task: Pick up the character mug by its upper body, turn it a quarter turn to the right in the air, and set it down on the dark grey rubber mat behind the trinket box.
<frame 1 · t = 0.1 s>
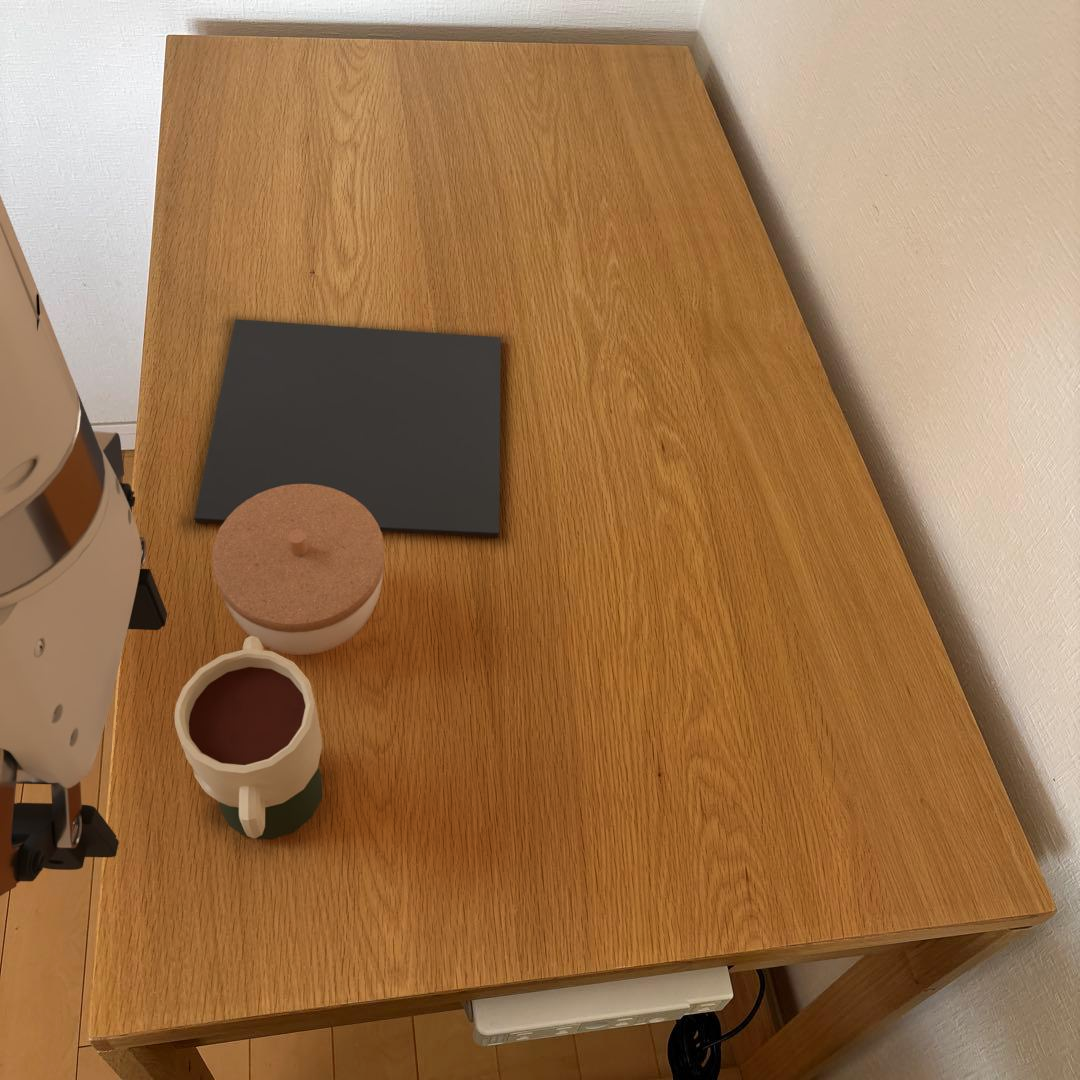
hand: (104, 728, 41), 23 cm above the table, tool pointing down, fingers open, 9 cm apart
mat: (360, 425, 81), on the table
trinket box: (308, 611, 71), on the table
character mug: (272, 795, 64), on the table
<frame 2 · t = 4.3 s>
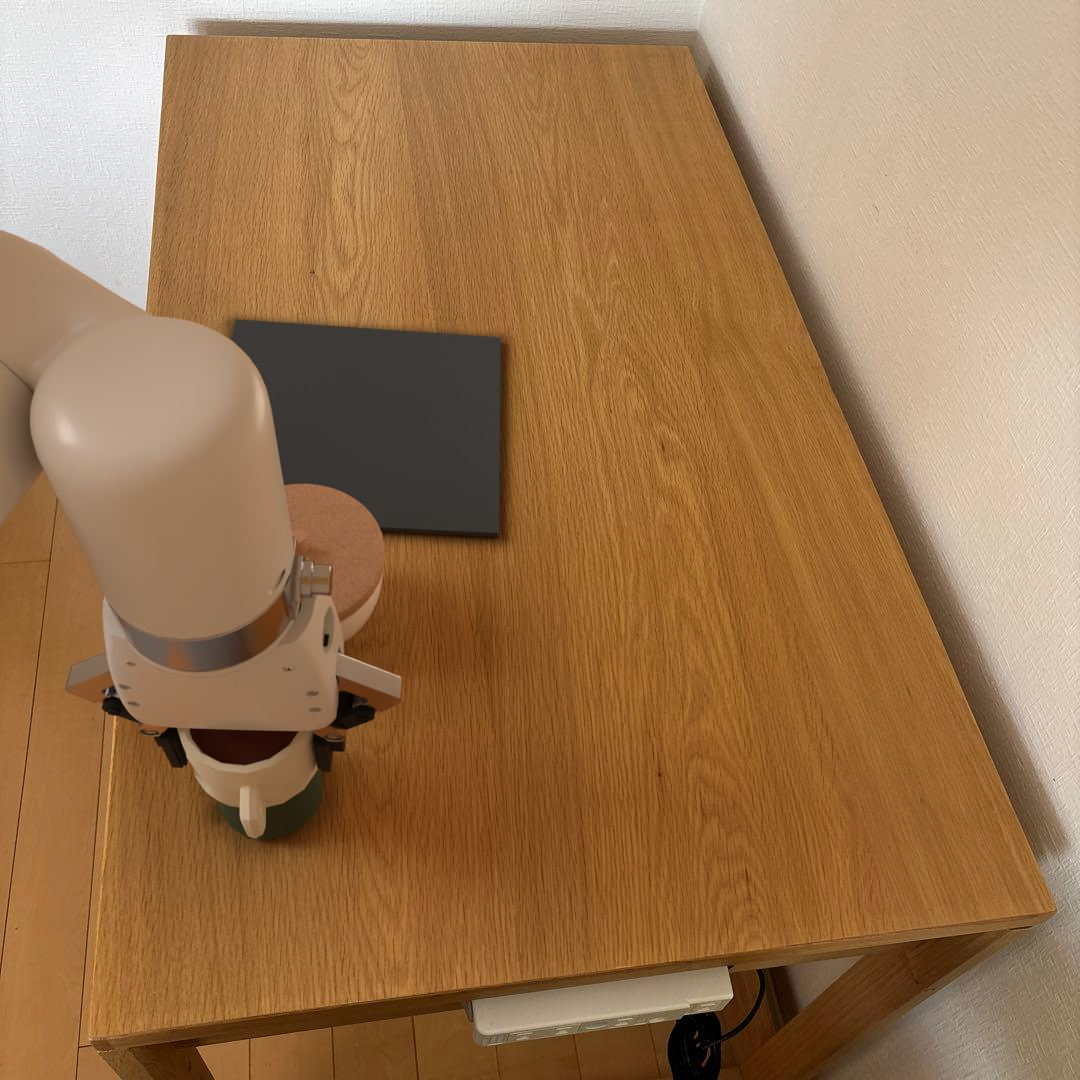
hand: (256, 743, 57), 8 cm above the table, tool pointing down, fingers closed on character mug, 7 cm apart
character mug: (272, 795, 64), on the table, touching gripper
everything else where it was.
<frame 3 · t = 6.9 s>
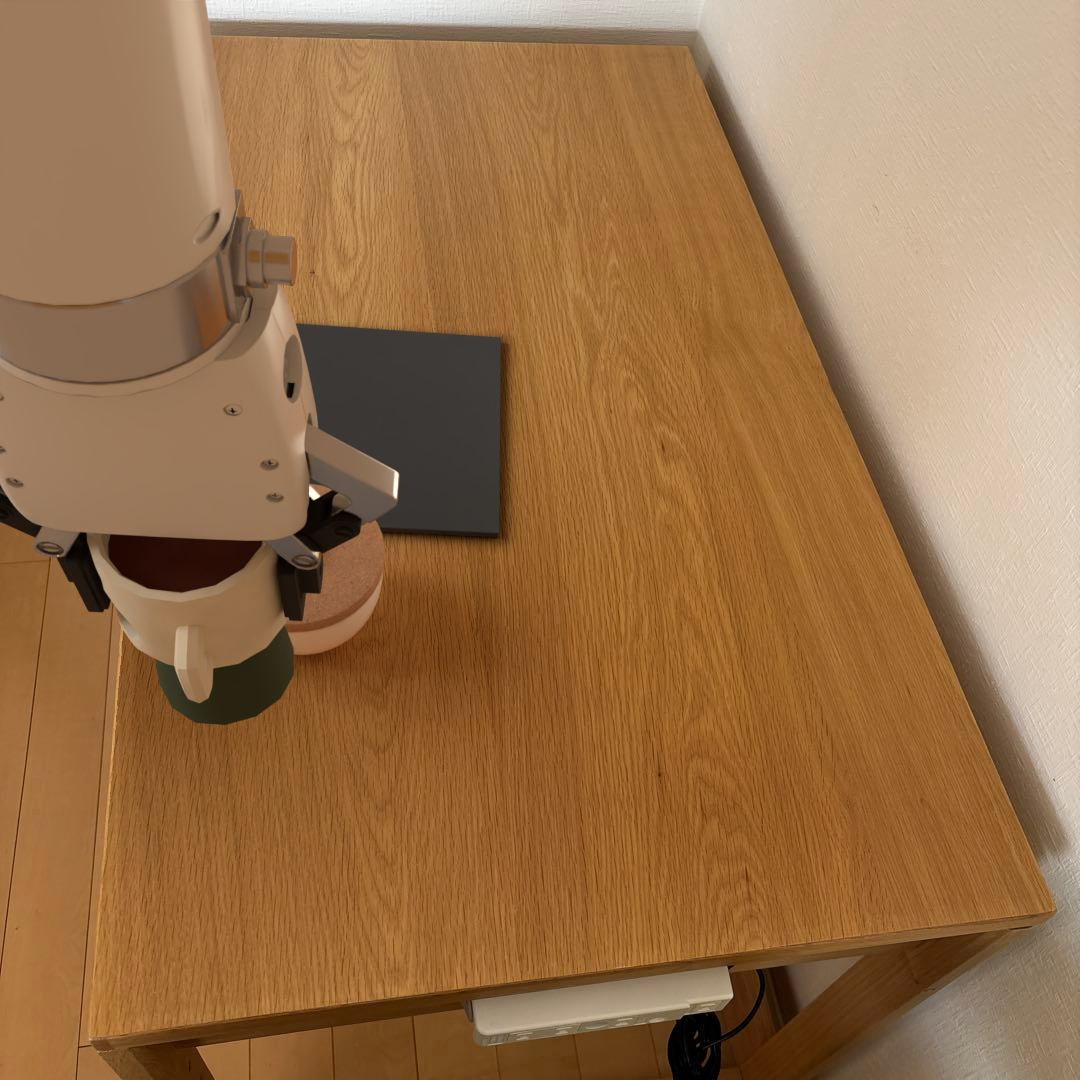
hand: (203, 584, 43), 25 cm above the table, tool pointing down, fingers closed on character mug, 7 cm apart
character mug: (230, 673, 50), point 17 cm above the table, touching gripper
everything else where it was.
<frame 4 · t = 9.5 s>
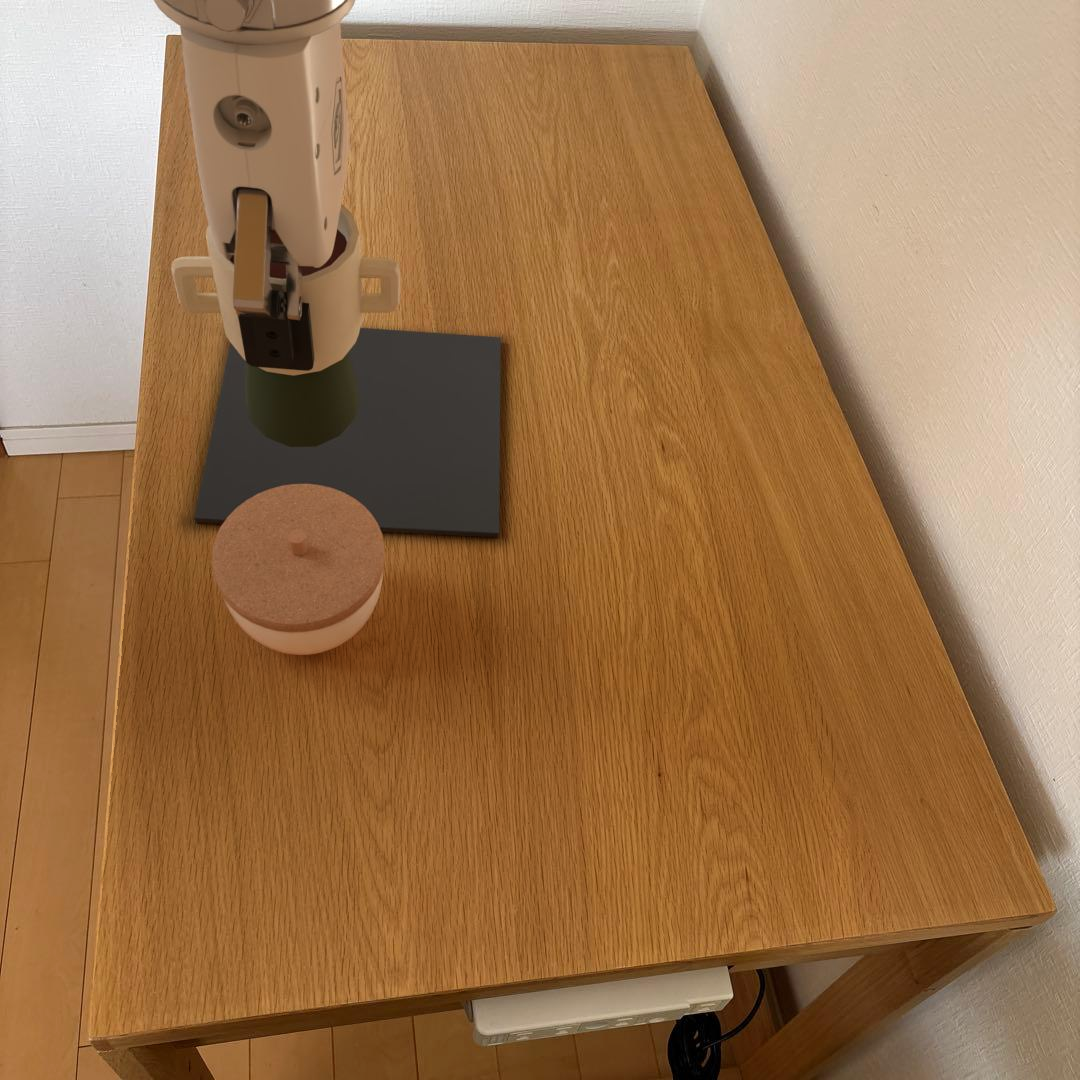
hand: (291, 304, 52), 26 cm above the table, tool pointing down, fingers closed on character mug, 7 cm apart
character mug: (304, 413, 59), point 17 cm above the table, touching gripper
everything else where it was.
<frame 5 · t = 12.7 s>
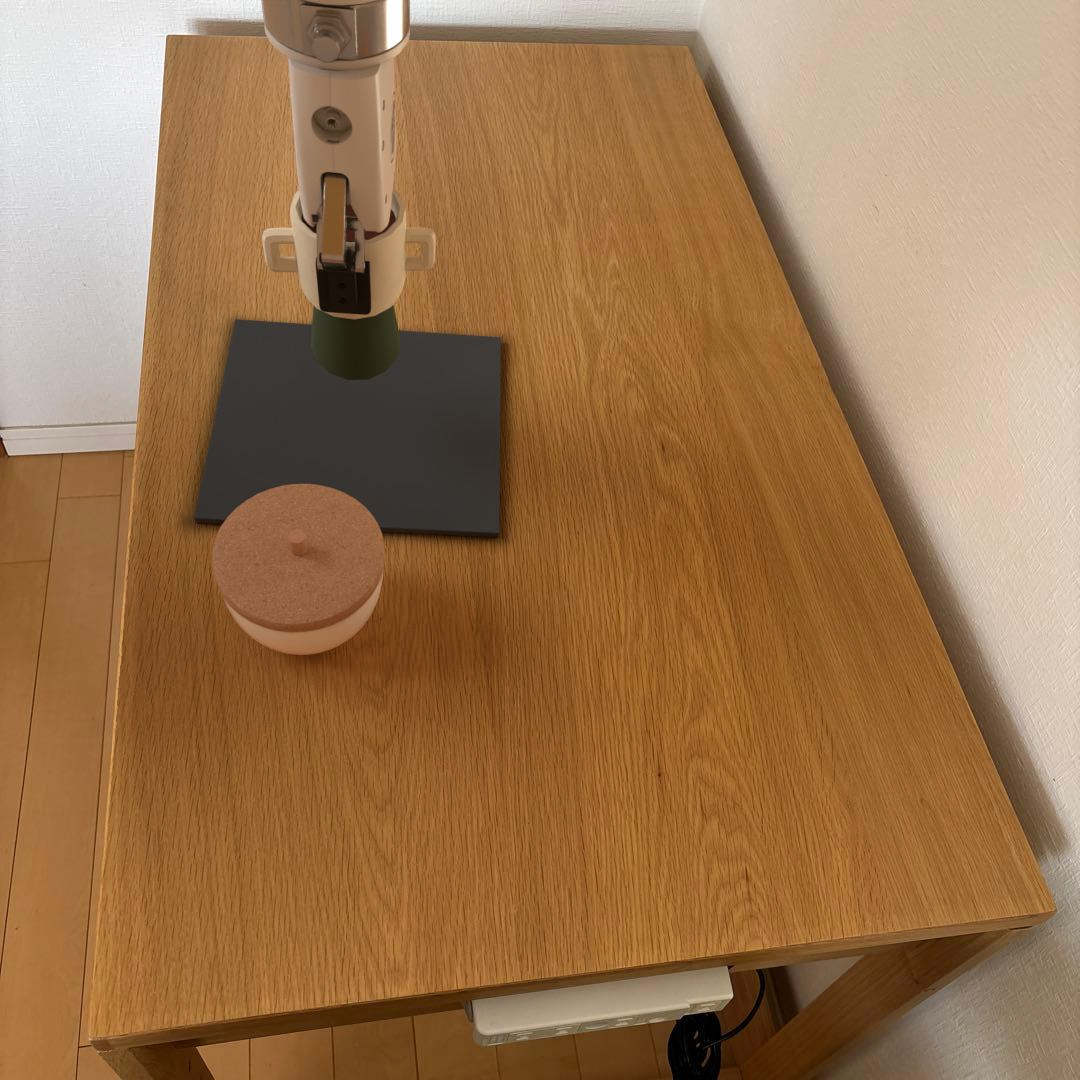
hand: (351, 265, 67), 16 cm above the table, tool pointing down, fingers closed on character mug, 7 cm apart
character mug: (356, 355, 74), point 8 cm above the table, touching gripper
everything else where it was.
when the fingers open (9 cm above the table, at t = 15.0 s): character mug stays where it is, resting on mat.
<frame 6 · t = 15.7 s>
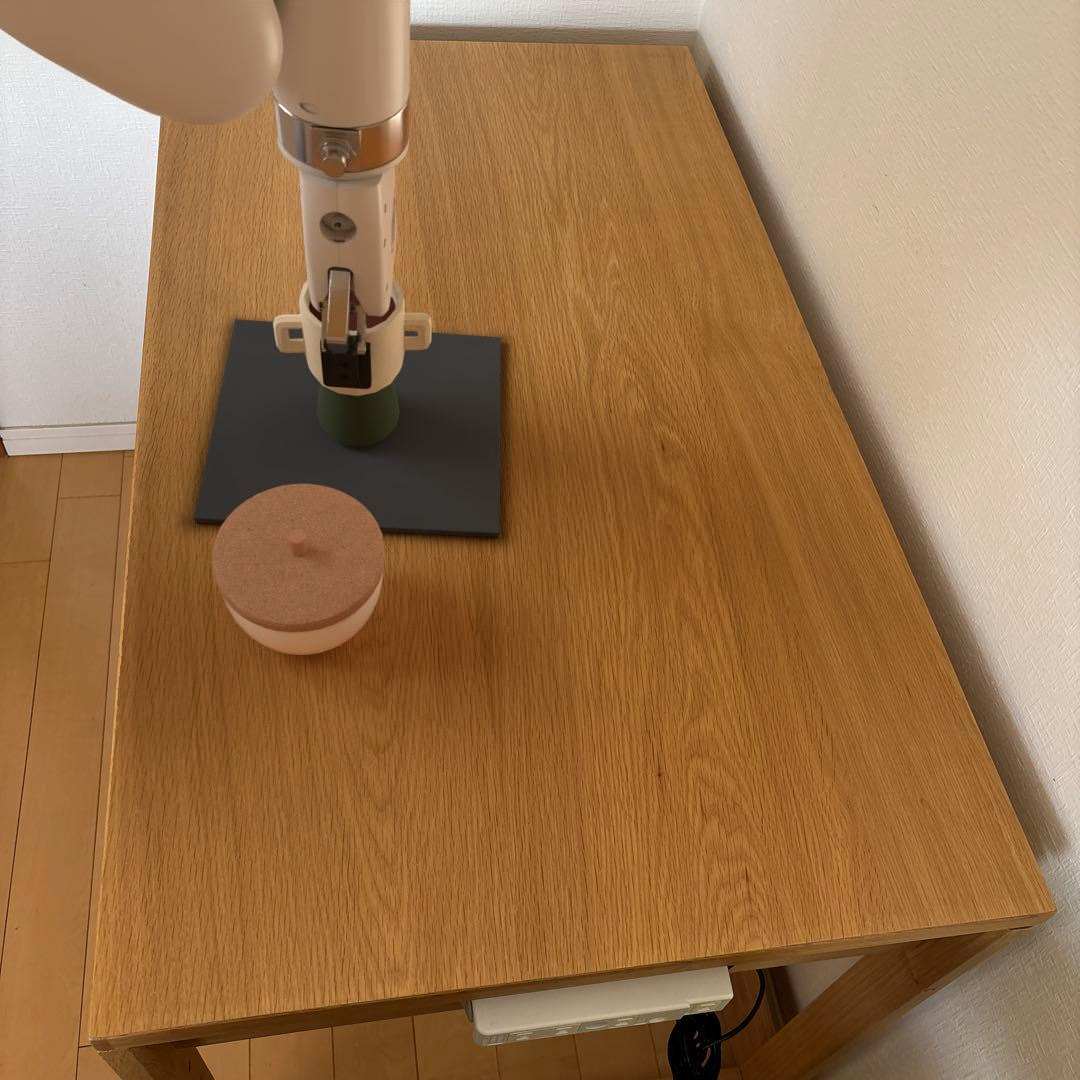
hand: (353, 332, 72), 10 cm above the table, tool pointing down, fingers open, 9 cm apart
character mug: (359, 422, 80), resting on mat
everything else where it was.
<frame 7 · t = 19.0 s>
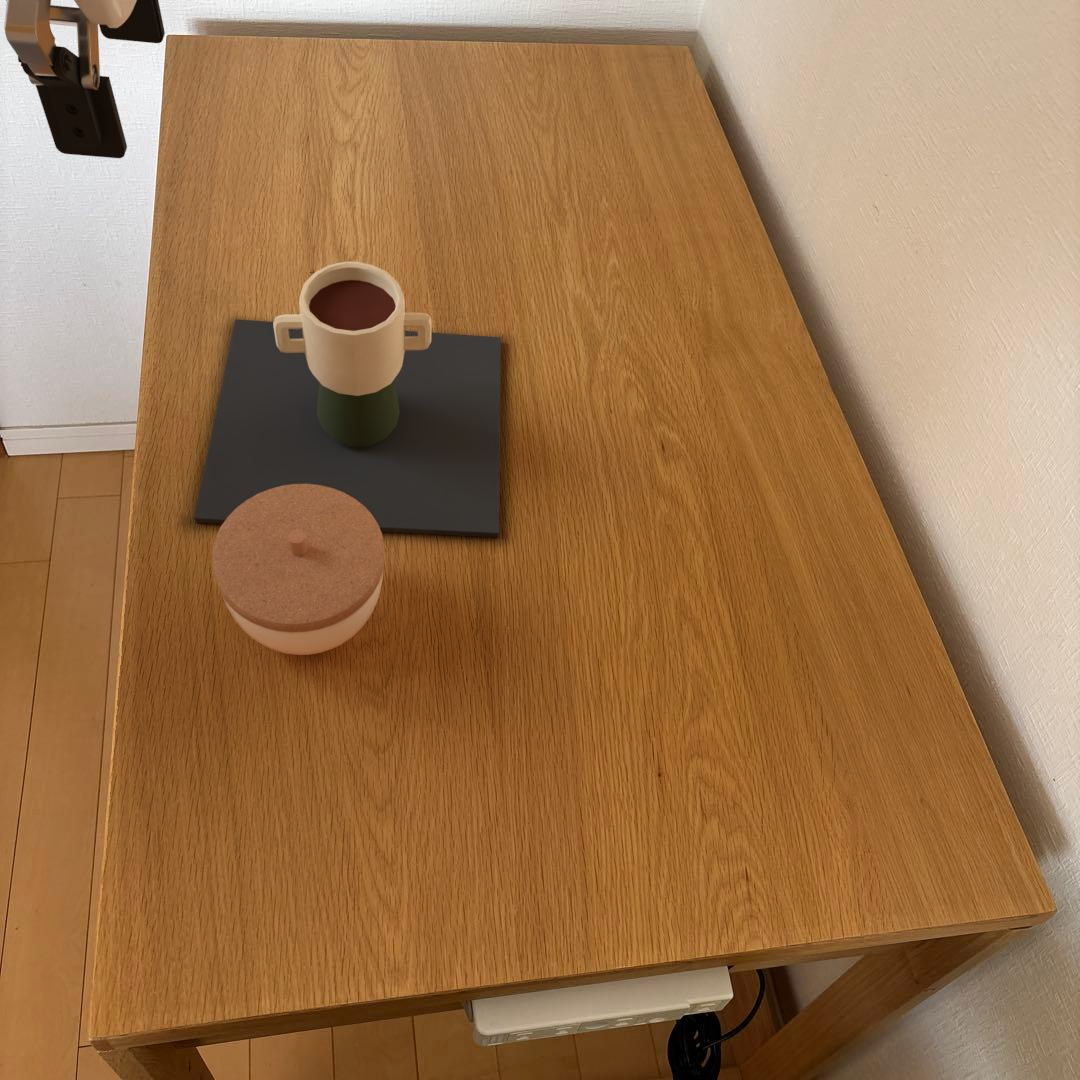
hand: (114, 92, 52), 30 cm above the table, tool pointing down, fingers open, 9 cm apart
nothing on the table moved.
at the end: character mug inside the target area on the mat (0.1 cm from its centre), point 0.4 cm above the mat's base; character mug tilted 0°; the gripper is holding nothing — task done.
